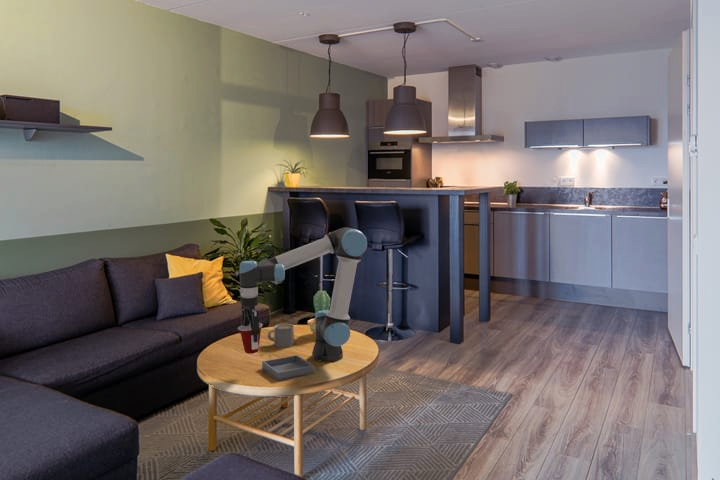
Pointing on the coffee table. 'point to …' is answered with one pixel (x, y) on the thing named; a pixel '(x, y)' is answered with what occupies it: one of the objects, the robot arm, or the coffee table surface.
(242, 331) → the plastic cup
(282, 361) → the bin
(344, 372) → the coffee table surface
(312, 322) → the potted cactus
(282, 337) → the coffee mug
